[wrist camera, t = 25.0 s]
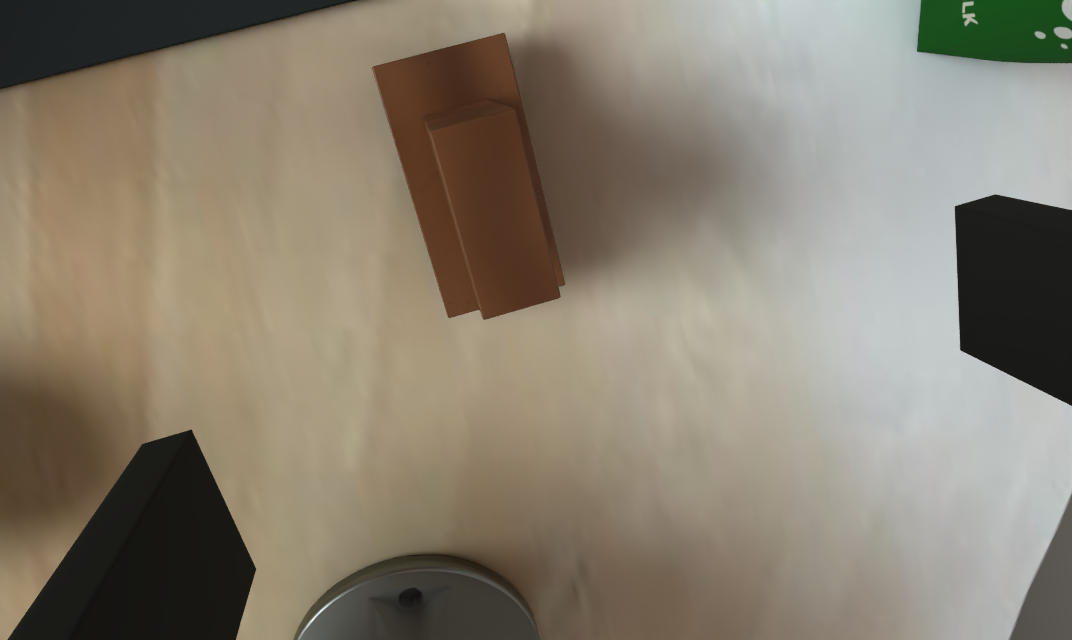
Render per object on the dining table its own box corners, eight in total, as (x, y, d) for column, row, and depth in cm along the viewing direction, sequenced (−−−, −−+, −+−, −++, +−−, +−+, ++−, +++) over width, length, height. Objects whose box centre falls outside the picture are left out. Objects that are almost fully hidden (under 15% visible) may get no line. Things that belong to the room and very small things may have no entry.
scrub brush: (444, 299, 39) (462, 391, 28) (374, 67, 35) (361, 65, 24) (553, 268, 40) (613, 347, 28) (496, 35, 35) (540, 19, 24)
